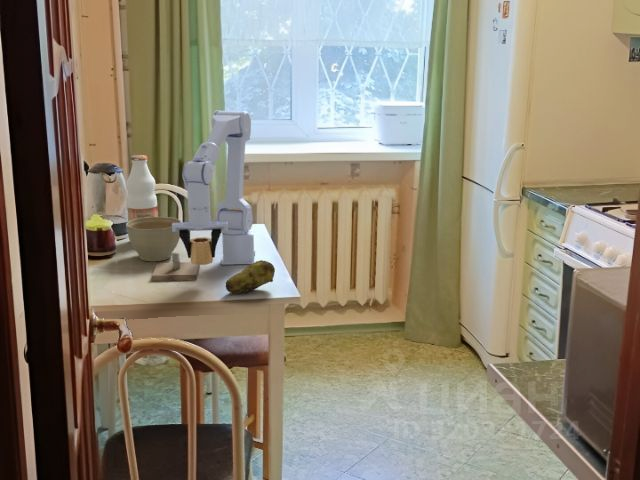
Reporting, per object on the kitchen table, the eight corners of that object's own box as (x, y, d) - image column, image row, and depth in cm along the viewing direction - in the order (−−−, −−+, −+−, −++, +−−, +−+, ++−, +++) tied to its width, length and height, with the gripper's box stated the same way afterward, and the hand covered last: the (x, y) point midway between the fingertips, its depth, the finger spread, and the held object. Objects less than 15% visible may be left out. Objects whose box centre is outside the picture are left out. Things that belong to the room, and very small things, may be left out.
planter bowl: (166, 267, 227) (164, 230, 224) (118, 262, 232) (115, 226, 229) (192, 252, 241) (191, 218, 239) (146, 248, 246) (144, 214, 244)
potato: (226, 287, 209) (225, 258, 207) (274, 285, 210) (274, 256, 208) (225, 297, 201) (224, 267, 199) (276, 295, 202) (275, 265, 200)
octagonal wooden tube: (213, 258, 213) (212, 237, 211) (211, 264, 208) (210, 242, 206) (192, 259, 213) (191, 237, 211) (190, 265, 207) (189, 243, 206)
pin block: (200, 266, 227) (199, 246, 225) (196, 279, 215) (195, 258, 214) (158, 268, 226) (156, 247, 225) (152, 280, 215) (150, 259, 213)
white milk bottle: (123, 243, 252) (117, 157, 244) (143, 237, 260) (137, 153, 252) (146, 247, 247) (140, 159, 240) (165, 240, 255) (160, 155, 248)
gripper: (169, 211, 202) (172, 261, 205) (226, 209, 203) (228, 260, 206) (172, 205, 209) (175, 254, 212) (227, 203, 209) (229, 252, 213)
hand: (201, 256), depth 210 cm, fingers closed on octagonal wooden tube, 6 cm apart
